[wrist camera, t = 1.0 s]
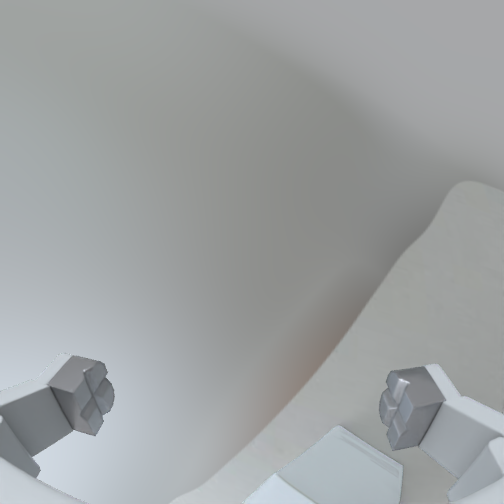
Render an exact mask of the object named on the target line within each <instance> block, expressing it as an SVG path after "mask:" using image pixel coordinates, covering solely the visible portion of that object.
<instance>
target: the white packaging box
mask: <svg viewBox="0 0 504 504" xmlns="http://www.w3.org/2000/svg"><path fill="white" fill-rule="evenodd" d="M402 478H403V465H401V464H399V463H398V462H396V461H394V460H393V459H391V458H389V457H388V456H386V455H385V454H383V453H381V452H380V451H378V450H377V449H375V448H373V447H372V446H370V445H369V444H367V443H366V442H364V441H363V440H361V439H360V438H358V437H357V436H355V435H353V434H352V433H350V432H349V431H348V430H346V429H344V428H343V427H342V426H340V425H337V426H336V427H334V428H333V429H332V430H331V431H330V432H328V433H327V434H326V435H325V436H324V437H322V438H321V439H320V440H319V441H318V442H316V443H315V444H314V445H313V446H311V447H310V448H309V449H308V450H306V451H305V452H304V453H302V454H301V455H300V456H298V457H297V458H296V459H294V460H293V461H292V462H290V463H289V464H287V465H286V466H285V467H283V468H282V469H280V470H279V471H277V472H276V473H274V474H273V475H271V476H270V477H269V478H268V479H267V480H266V481H265V482H264V483H263V484H262V485H261V486H260V487H259V488H258V489H257V490H255V491H254V492H253V493H252V494H251V495H250V496H249V497H248V498H247V499H246V500H245V501H244V502H242V503H241V504H400V498H401V489H402Z"/></svg>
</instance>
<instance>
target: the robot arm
mask: <svg viewBox="0 0 504 504" xmlns="http://www.w3.org/2000/svg"><path fill="white" fill-rule="evenodd" d="M107 373H108V372H107V369H106V367H105V364H104V363H102V362H100V361H96V360H92V359H88V358H83V357H79V356H74V355H70V354H66V353H61V354H59V355H58V356H57V357H56V358H55V359H54V361H52V362H51V363H50V364H49V365H48V367H47V368H46V369H45V370H44V371H43V372H42V373H41V374H40V375H39V376H38V377H37V378H36V379H35V380H29V381H26V382H23V383H21V384H18V385H16V386H13V387H10V388H8V389H5V390H2V391H0V504H89V503H87V502H84V501H82V500H79V499H77V498H75V497H73V496H70V495H68V494H66V493H63V492H62V491H60V490H58V489H55V488H53V487H51V486H50V485H48V484H46V483H44V482H42V481H40V480H38V479H36V477H37V476H38V474H39V472H40V471H41V470H40V467H39V465H38V464H37V463H36V462H35V461H34V460H33V458H32V457H33V456H35V455H36V454H38V453H39V452H41V451H42V450H44V449H46V448H47V447H49V446H51V445H52V444H54V443H55V442H57V441H58V440H60V439H61V438H63V437H64V436H66V435H68V434H69V433H71V432H72V431H73V430H76V431H80V432H83V433H86V434H89V435H93V436H96V434H97V432H98V431H99V429H100V427H101V425H102V424H103V422H104V420H103V416H102V415H104V414H106V413H108V412H109V411H110V410H111V408H112V406H113V402H114V389H113V387H112V384H111V383H110V382H109V380H108V379H107V378H106V375H107ZM386 383H387V385H388V388H387V389H386V390H385V391H384V392H383V393H382V395H381V399H380V404H379V412H380V417H381V420H382V423H383V424H385V425H386V426H388V427H389V429H388V432H387V437H388V440H389V443H390V445H391V448H392V451H394V450H400V449H405V448H409V447H414V446H418V445H419V446H418V447H419V448H420V449H422V450H423V451H424V452H425V453H426V454H428V455H429V456H430V457H431V458H433V459H434V460H435V461H436V462H438V463H439V464H440V465H441V466H442V467H444V468H445V469H446V470H447V471H449V472H450V473H451V474H453V475H454V476H455V477H456V478H458V480H457V482H456V483H455V484H454V485H453V486H452V487H451V488H450V489H449V491H448V492H447V496H448V499H449V502H450V503H449V504H504V414H502V413H500V412H498V411H496V410H494V409H492V408H490V407H488V406H486V405H484V404H481V403H479V402H477V401H475V400H473V399H471V398H469V397H467V396H463V397H462V396H461V395H460V394H459V392H458V391H457V389H456V388H455V386H454V385H453V383H452V382H451V381H450V379H449V378H448V376H447V375H446V374H445V372H444V371H443V369H442V368H441V367H440V365H438V364H436V363H435V364H430V365H425V366H421V367H415V368H408V369H402V370H394V371H391V372H390V373H389V375H388V377H387V380H386Z"/></svg>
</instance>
